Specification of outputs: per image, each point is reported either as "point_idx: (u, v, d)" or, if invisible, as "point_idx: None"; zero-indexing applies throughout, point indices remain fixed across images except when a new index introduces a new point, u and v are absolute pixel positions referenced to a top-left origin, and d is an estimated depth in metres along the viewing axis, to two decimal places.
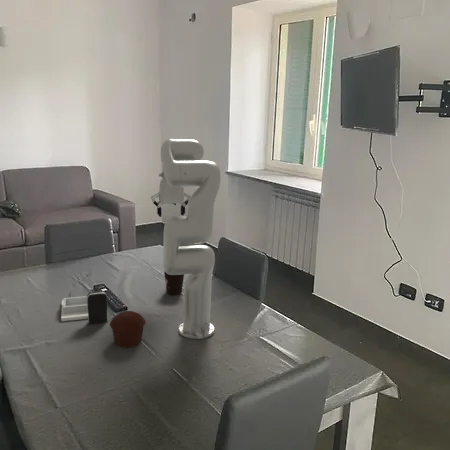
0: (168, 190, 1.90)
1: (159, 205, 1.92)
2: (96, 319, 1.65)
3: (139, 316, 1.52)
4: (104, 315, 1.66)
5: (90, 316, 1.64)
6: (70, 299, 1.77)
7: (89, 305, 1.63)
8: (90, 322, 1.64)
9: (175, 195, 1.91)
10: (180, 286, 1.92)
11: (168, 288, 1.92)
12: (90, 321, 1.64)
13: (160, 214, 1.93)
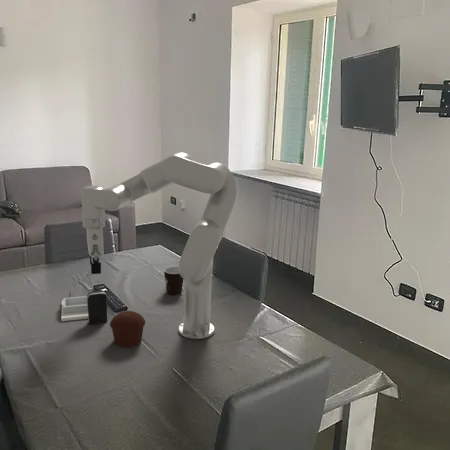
0: None
1: (99, 260, 1.56)
2: (96, 319, 1.65)
3: (139, 316, 1.52)
4: (104, 315, 1.66)
5: (90, 316, 1.64)
6: (70, 299, 1.77)
7: (89, 305, 1.63)
8: (90, 322, 1.64)
9: None
10: (180, 286, 1.92)
11: (168, 288, 1.92)
12: (90, 321, 1.64)
13: None
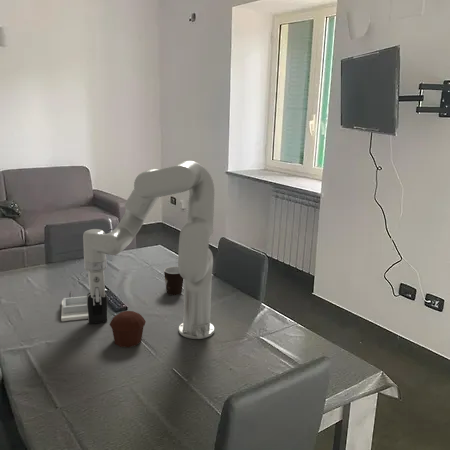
0: None
1: (100, 302, 1.63)
2: (96, 319, 1.65)
3: (139, 316, 1.52)
4: (104, 315, 1.66)
5: (90, 316, 1.64)
6: (70, 299, 1.77)
7: (89, 305, 1.63)
8: (90, 322, 1.64)
9: None
10: (180, 286, 1.92)
11: (168, 288, 1.92)
12: (90, 321, 1.64)
13: None
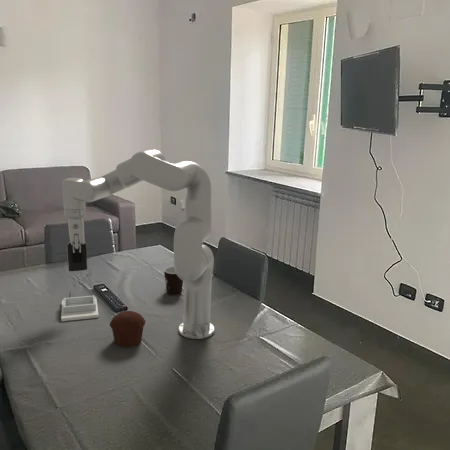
0: None
1: (80, 249, 1.67)
2: (76, 267, 1.69)
3: (139, 316, 1.52)
4: (84, 263, 1.70)
5: (70, 263, 1.68)
6: (70, 299, 1.77)
7: (69, 252, 1.67)
8: (70, 270, 1.68)
9: None
10: (180, 286, 1.92)
11: (168, 288, 1.92)
12: (70, 268, 1.68)
13: None
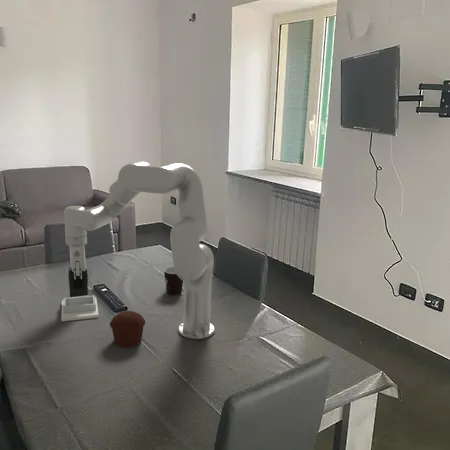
0: None
1: (81, 276, 1.69)
2: (77, 292, 1.71)
3: (139, 316, 1.52)
4: (85, 289, 1.72)
5: (71, 289, 1.70)
6: (70, 299, 1.77)
7: (70, 279, 1.69)
8: (71, 295, 1.71)
9: None
10: (180, 286, 1.92)
11: (168, 288, 1.92)
12: (71, 294, 1.71)
13: None
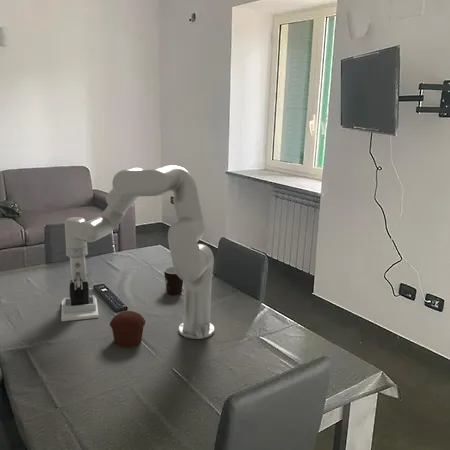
0: (85, 265, 1.70)
1: None
2: None
3: (139, 316, 1.52)
4: (86, 301, 1.73)
5: (72, 302, 1.72)
6: None
7: (71, 291, 1.71)
8: None
9: None
10: (180, 286, 1.92)
11: (168, 288, 1.92)
12: None
13: (83, 295, 1.70)
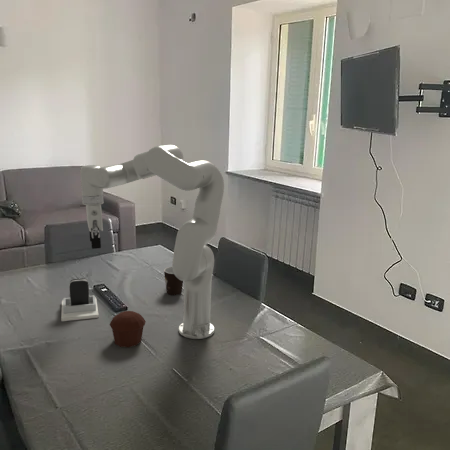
0: None
1: (99, 235, 1.66)
2: None
3: (139, 316, 1.52)
4: (86, 301, 1.73)
5: (72, 302, 1.72)
6: None
7: (71, 291, 1.71)
8: None
9: None
10: (180, 286, 1.92)
11: (168, 288, 1.92)
12: None
13: (100, 244, 1.67)
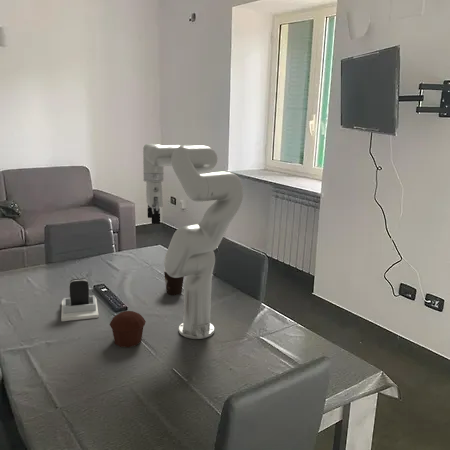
0: None
1: (159, 211, 1.73)
2: None
3: (139, 316, 1.52)
4: (86, 301, 1.73)
5: (72, 302, 1.72)
6: None
7: (71, 291, 1.71)
8: None
9: None
10: (180, 286, 1.92)
11: (168, 288, 1.92)
12: None
13: None
